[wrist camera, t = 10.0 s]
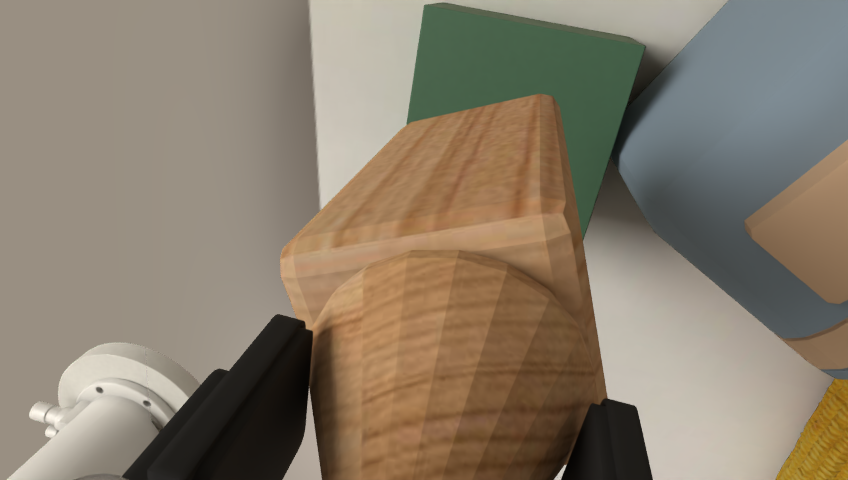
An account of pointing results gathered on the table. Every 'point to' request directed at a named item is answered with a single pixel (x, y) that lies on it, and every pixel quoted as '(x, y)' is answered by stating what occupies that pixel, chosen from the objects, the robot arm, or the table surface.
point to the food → (822, 440)
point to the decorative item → (451, 304)
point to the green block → (529, 79)
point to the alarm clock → (755, 165)
